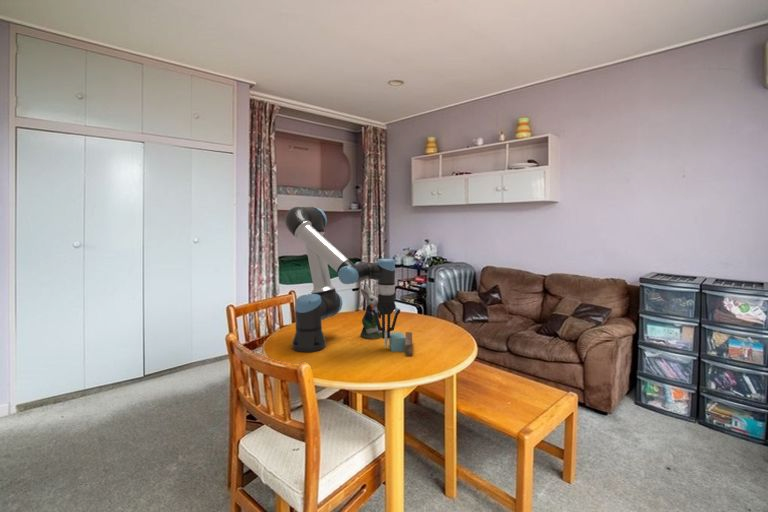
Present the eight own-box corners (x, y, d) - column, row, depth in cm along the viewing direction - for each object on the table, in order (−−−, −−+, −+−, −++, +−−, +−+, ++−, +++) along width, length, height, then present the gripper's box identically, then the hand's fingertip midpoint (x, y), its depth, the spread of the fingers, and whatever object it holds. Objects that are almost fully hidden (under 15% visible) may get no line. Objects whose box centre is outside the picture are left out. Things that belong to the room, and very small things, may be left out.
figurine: (379, 342, 191) (386, 292, 187) (353, 338, 193) (359, 288, 190) (384, 335, 201) (390, 288, 198) (359, 331, 204) (365, 284, 200)
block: (392, 352, 173) (391, 338, 173) (389, 345, 182) (389, 332, 182) (405, 351, 174) (405, 338, 173) (401, 344, 183) (401, 332, 182)
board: (405, 355, 168) (405, 344, 168) (405, 342, 186) (405, 332, 186) (412, 356, 168) (412, 344, 167) (412, 342, 186) (412, 332, 185)
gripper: (371, 295, 172) (371, 347, 174) (400, 295, 171) (399, 348, 173) (372, 291, 179) (372, 342, 181) (400, 292, 178) (400, 343, 181)
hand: (386, 345), depth 177 cm, fingers closed
